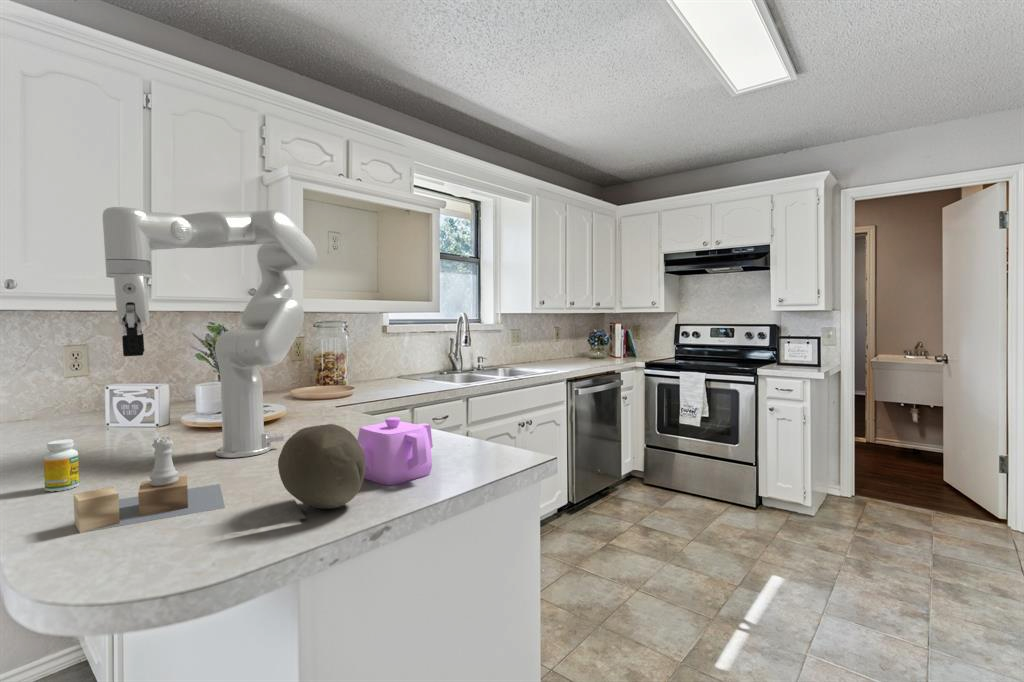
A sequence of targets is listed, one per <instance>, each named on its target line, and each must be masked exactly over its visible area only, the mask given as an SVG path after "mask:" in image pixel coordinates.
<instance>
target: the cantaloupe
mask: <svg viewBox="0 0 1024 682" xmlns="http://www.w3.org/2000/svg"><path fill="white" fill-rule="evenodd" d="M357 440H358V438H356V436H355V435H354V434H353V433H352V432H351V431H349V430H348V429H347V428H345V427H343V426H341V425H338V424H334V423H328V424H320V425H313V426H308V427H304V428H301V429H299V430H298V431H297V432H295V433H294V434H293V435H291V436H290V437H289V438H288V439H287V440H286V442H285V443H284V445H283V447H282V449H281V451H280V454H279V455H278V456H279V457H278V460H277V469H278V474H279V477H280V481H281V482H282V484H283V487H284V488H285V489H286V491H287V492H288V493H289V494H290V495H291V496H293V497H294V498H295V499H296V500H298V501H299V502H301V503H303V504H305V505H307V506H308V507H311V508H316V509H321V510H322V509H324V510H333V509H337V508H340V507H342V506H345V505H346V504H348V503H349V502H351V501H352V500H353V499H354V498H355V497H356V496H357V494H358V493H359V492H360V490H361V488H362V485H363V482H364V479H365V478H364V473H365V467H366V465H365V456H364V453H363V451H362V448H361V447H360V445H359V443H358V441H357Z"/></svg>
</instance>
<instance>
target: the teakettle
mask: <svg viewBox="0 0 1024 682" xmlns="http://www.w3.org/2000/svg"><path fill="white" fill-rule="evenodd" d="M384 421H385V422H381V423H376V424H370V425H364V426H361V427H360V428H359V429H358V430H359V431H358V435H357V441H358V443H359V445H360V447H361V448H362V451H363V453H364V456H365V465H366V467H365V473H364V479H366V480H368V481H370V482H374V483H377V484H381V485H387V486H395V485H398V484H402V483H405V482H409V481H413V480H416V479H419V478H424V477H426V476H429V475H430V474H431V471H432V467H433V459H432V458H433V457H432V448H434V447H433V438H432V437H433V436H432V426H431V424H429V423H425V422H424V423H418V424H417V423H416V424H415V423H411V422H406V421H405V422H404V421H401V418H400V417H395V416H394V417H392V416H391V417H386V418H385V419H384Z"/></svg>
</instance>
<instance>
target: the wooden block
mask: <svg viewBox="0 0 1024 682" xmlns="http://www.w3.org/2000/svg"><path fill="white" fill-rule="evenodd" d="M177 477H178V478H179V479H178V481H177V482H176V483H174V484H171V485H167V486H160V487H154V486H151V485H150V484H149V482H150V481H151V480H145V481H141V482H140V484H139V489H138V491H137V492H138V494H137V496H138V499H139V516H143V515H149V514H155V513H160V512H166V511H172V510H178V509H184V508H188V489H189V488H188V475H182V476H177Z"/></svg>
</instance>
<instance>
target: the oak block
mask: <svg viewBox="0 0 1024 682" xmlns="http://www.w3.org/2000/svg"><path fill="white" fill-rule="evenodd" d="M119 495H120V493H119V492H118V491H117V490H116V489H115V488H114V487H113V486H109V487H103V488H97V489H93V490H88V491H83V492H78V493H73V514H74V516H73V517H74V526H75V527H76V529H77V531H78V533H79V532H80V533H79V534H83V533H82V532H84V533H87V532H86V531H90V530H95V529H99V528H103V527H107V526H112V525H116V524H120V518H119V499H120V498H119ZM95 531H96V530H95ZM90 532H91V531H90Z"/></svg>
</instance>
